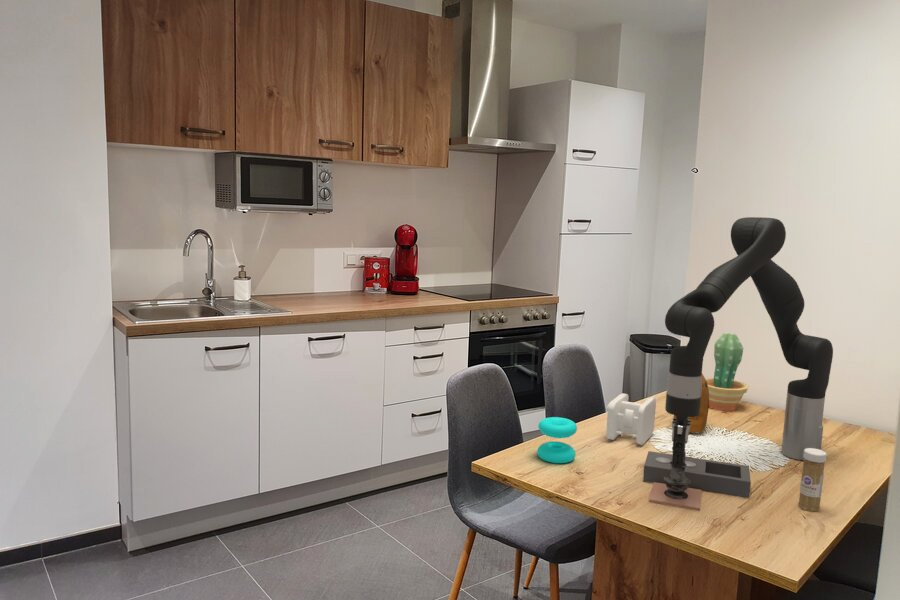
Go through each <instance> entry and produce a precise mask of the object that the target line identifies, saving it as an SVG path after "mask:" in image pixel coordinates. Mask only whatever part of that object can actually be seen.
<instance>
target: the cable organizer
mask: <svg viewBox="0 0 900 600" xmlns="http://www.w3.org/2000/svg"><path fill="white" fill-rule="evenodd" d="M629 397H630V396H629V394H627V393H623V392H622V393H619V395H617V396H616V397H615V398H614V399H612V400H611V401H610V402H608V405H606V411H607V415H606V416H607V417H606V431H605V433H606V435H605V437H606V439H608V440H611V441H614V440H615V439H616V438H617V437H619V435H620V437H621V438H623V435H624V434H626V435H631V439H634V438H635V440H636V441H635V442H636V444H638V445H639V446H643V445H644V444H645V443H646V442H647V441H648V440H649V438H651V436H652V435H653V433H654V430H655V424H656V423H655V421H656V419H655V418H656V408H657V407H656V406H657V405H656V404H657V400H656V399H657V398H656V397H648V398H647V399H646V400H645V401H644V402H643V403H638V402H631V401H629Z"/></svg>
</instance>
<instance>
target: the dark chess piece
mask: <svg viewBox="0 0 900 600" xmlns="http://www.w3.org/2000/svg"><path fill="white" fill-rule="evenodd" d="M679 446H681V445H679ZM686 454H687V452H686V450H685V451H684V455H683V467H682V468H675V467H673V466H672V462H673V453H672V454H671V455H672V462H670V464H671V473H670V475H667V476H665V477H664V480H665V484H666V486H667V488H668V490H666V491H665V492H664V494H665V495H666V496H668V497H670V498H674V499H686V498H687V497H688V494H687V493H685V492H684V491H685V490H687V488H688V486H689V484H690V480H689V479H688V478H686V477H685V467H686V466H687V465H686V464H685V457H687V455H686Z"/></svg>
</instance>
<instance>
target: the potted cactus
mask: <svg viewBox="0 0 900 600" xmlns="http://www.w3.org/2000/svg"><path fill="white" fill-rule="evenodd" d="M713 351H714V353H713V356H714V363H715V366H714V373H713V378H712V377H711V378H705V379H706V381H707V384H708V389H709V408H710V409H714V410H716V411H717V410H718V411H725V412H726V411H727V412H733V411H736V410H737V405H738V404H739V403H740V402H741V400H742V398H743V397H744V394H746V393H747V392H748V389H749V387H750V386H749V385H747V384H745V383H744V382H740V381H737V380H735V377H736V374H737V370H738V367H739V365H740V364H741V362H742V360H743V353H744V347H743V345H742V343H741V341H740V338H739V337H738V336H737V334H735V333H734V334H731V333H730V332H728V333H724V332H723V334H721V335H720V336H719V338H718V339H717V340H716V341H715V342H714V349H713Z"/></svg>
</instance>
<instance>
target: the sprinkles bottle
mask: <svg viewBox="0 0 900 600" xmlns="http://www.w3.org/2000/svg"><path fill="white" fill-rule="evenodd" d="M803 457H804V458H803V459H804V460H803V463H802V470H801V471H802V472H801V477H800V486H799V498H798V500H799V501H798V503H797V505H798V507H799V508H801V509H803V510H805V511H809V512H818V511H820V510H821V500H822V499H821V498H822V494H823V493H822V492H823V483H824V475H825V474H824V473H825V472H824V471H825V464H826V461H827V452H826V451H825V450H822V449H821V450H819V449H815V448H806V449H805V450H804V453H803Z"/></svg>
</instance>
